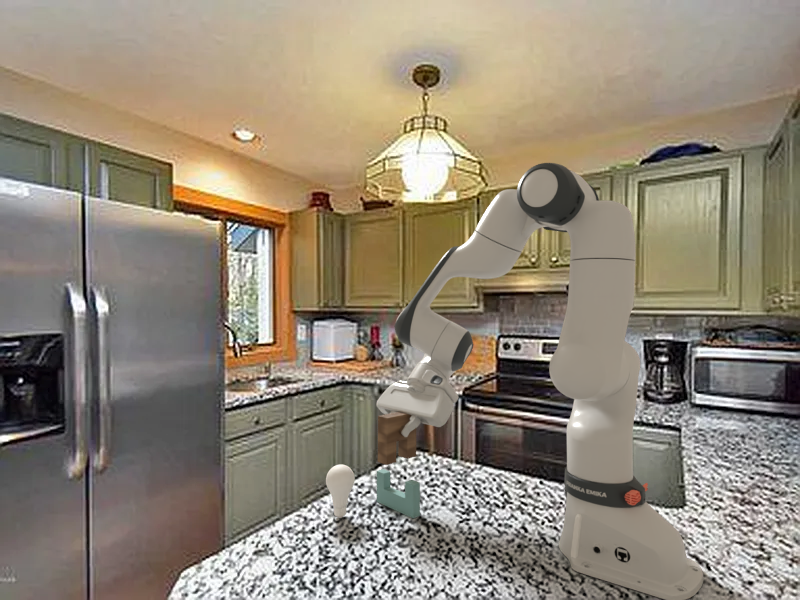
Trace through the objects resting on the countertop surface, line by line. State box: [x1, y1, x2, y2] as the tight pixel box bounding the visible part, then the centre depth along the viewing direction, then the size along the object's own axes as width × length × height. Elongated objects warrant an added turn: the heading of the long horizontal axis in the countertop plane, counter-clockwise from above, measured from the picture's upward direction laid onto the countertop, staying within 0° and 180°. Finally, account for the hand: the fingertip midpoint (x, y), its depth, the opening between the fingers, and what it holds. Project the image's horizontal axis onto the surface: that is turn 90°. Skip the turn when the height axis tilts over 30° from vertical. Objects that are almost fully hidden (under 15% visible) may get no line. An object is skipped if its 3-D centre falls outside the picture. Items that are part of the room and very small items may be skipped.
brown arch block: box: [377, 412, 417, 466], centre depth 101 cm, size 3×9×10 cm, turn 133°
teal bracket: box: [376, 468, 421, 519], centre depth 101 cm, size 12×2×7 cm, turn 43°
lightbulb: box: [325, 464, 356, 519], centre depth 96 cm, size 6×6×11 cm
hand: (395, 433), depth 101 cm, fingers closed on brown arch block, 3 cm apart
